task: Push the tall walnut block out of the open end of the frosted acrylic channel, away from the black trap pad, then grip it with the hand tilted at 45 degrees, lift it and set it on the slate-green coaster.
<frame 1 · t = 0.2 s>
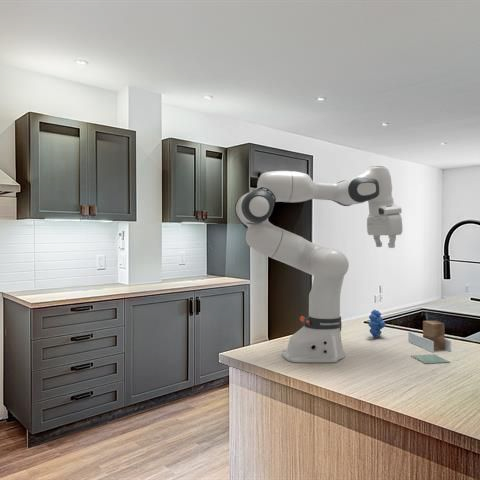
hand: (385, 247, 161), 39 cm above the counter, tool pointing down, fingers open, 8 cm apart
grapes: (377, 338, 182), on the counter
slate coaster: (429, 359, 151), on the counter
acrylic channel: (428, 346, 169), on the counter
walnut block: (433, 348, 166), on the counter
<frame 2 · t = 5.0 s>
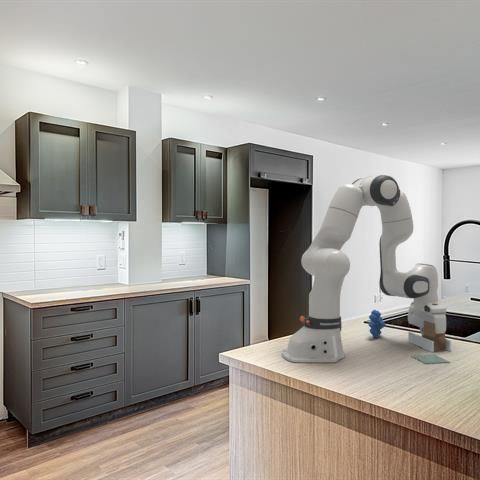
hand: (425, 339, 171), 2 cm above the counter, tool pointing down, fingers closed
walnut block: (434, 348, 165), on the counter, touching gripper
everything else where it was.
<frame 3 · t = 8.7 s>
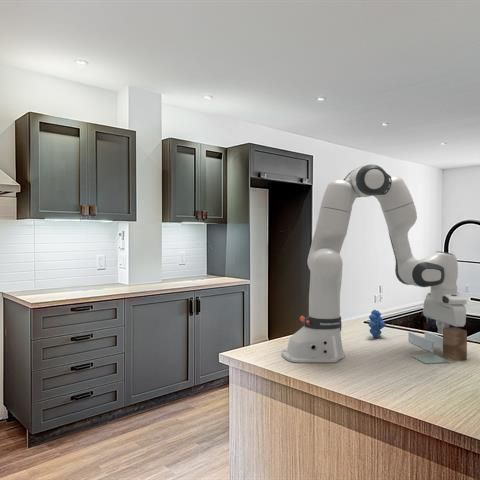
hand: (442, 333, 159), 7 cm above the counter, tool pointing down, fingers closed
walnut block: (454, 357, 153), on the counter
everything else where it was.
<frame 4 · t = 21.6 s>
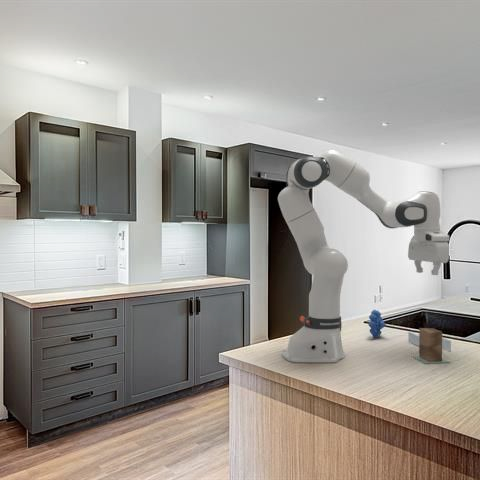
hand: (427, 273, 159), 29 cm above the counter, tool pointing down, fingers open, 8 cm apart
walnut block: (430, 358, 151), resting on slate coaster
everything else where it was.
at the end: walnut block inside the target area on the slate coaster (0.4 cm from its centre), point 0.4 cm above the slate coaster's base; walnut block tilted 0°; the gripper is holding nothing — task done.
